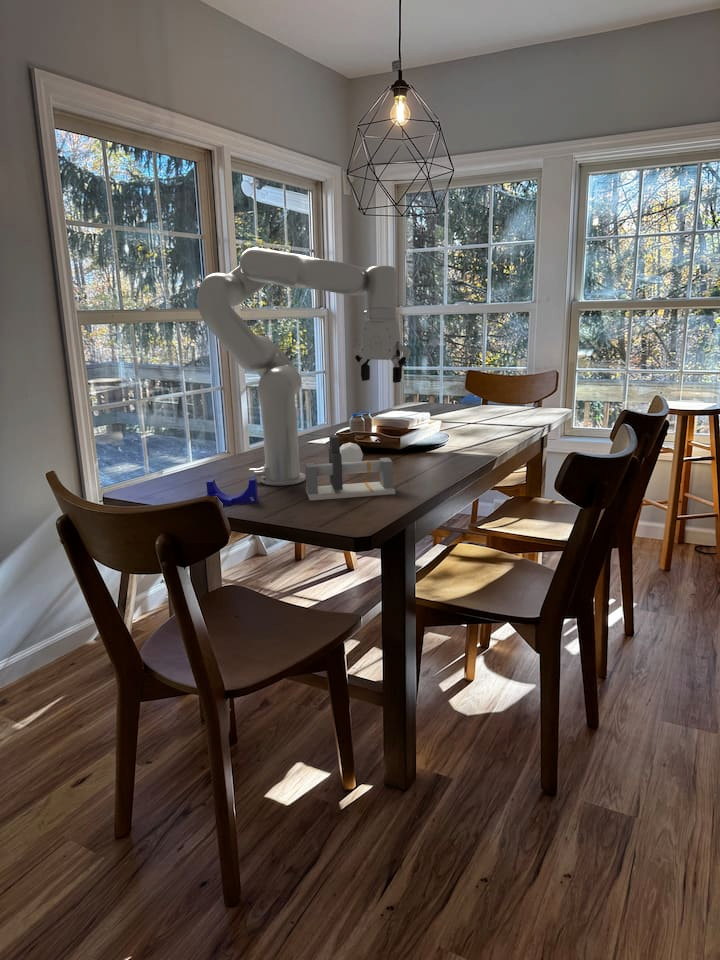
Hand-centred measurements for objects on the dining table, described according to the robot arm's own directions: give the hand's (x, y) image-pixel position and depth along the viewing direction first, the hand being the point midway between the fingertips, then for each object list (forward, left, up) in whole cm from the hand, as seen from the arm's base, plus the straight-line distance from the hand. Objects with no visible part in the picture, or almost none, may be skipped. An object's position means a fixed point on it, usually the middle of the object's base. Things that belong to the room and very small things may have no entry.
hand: (381, 381), depth 179 cm
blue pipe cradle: (-41, -11, -28) cm, 51 cm away
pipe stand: (-11, -10, -27) cm, 31 cm away
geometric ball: (-6, +19, -28) cm, 34 cm away
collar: (-15, -10, -25) cm, 31 cm away
